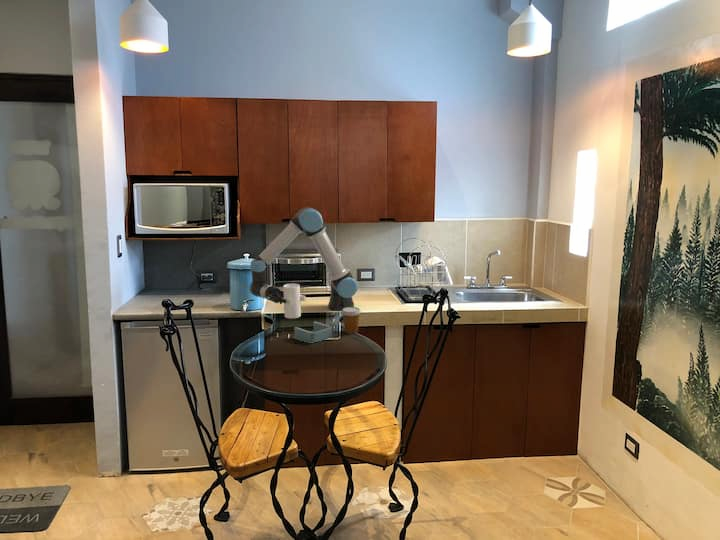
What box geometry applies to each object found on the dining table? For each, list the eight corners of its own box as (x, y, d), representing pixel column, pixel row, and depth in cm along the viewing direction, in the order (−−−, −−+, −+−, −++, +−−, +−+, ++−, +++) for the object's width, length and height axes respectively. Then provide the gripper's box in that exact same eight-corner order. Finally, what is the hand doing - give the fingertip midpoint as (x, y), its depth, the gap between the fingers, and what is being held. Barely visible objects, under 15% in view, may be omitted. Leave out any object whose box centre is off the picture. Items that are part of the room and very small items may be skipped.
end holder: (317, 330, 291) (317, 320, 290) (335, 336, 281) (335, 326, 280) (293, 337, 280) (292, 328, 279) (311, 344, 270) (311, 334, 269)
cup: (297, 312, 292) (296, 282, 289) (303, 316, 285) (302, 286, 281) (282, 315, 289) (281, 284, 285) (287, 319, 281) (286, 288, 278)
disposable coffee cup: (358, 335, 282) (358, 312, 279) (340, 334, 284) (339, 311, 281) (362, 329, 291) (362, 307, 288) (344, 328, 293) (344, 306, 290)
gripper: (286, 295, 305) (314, 303, 290) (254, 303, 291) (281, 312, 275) (286, 282, 304) (313, 289, 288) (253, 289, 289) (281, 297, 273)
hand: (298, 300), depth 281 cm, fingers closed on cup, 8 cm apart
